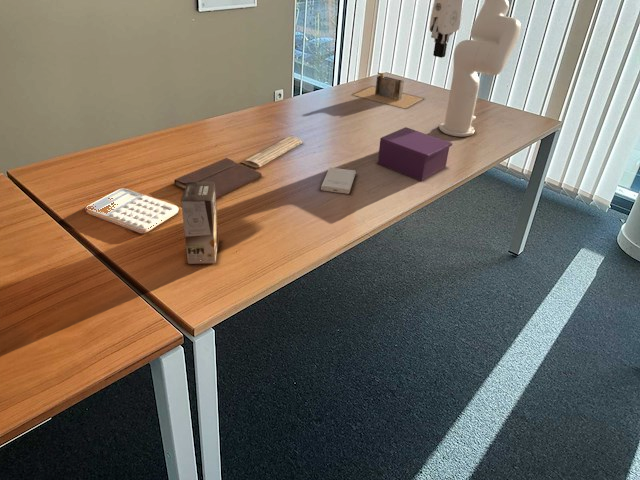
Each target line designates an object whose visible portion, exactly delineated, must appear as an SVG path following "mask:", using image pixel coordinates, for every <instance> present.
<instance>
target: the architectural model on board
mask: <svg viewBox="0 0 640 480" xmlns="http://www.w3.org/2000/svg"><path fill="white" fill-rule="evenodd" d="M404 83H405V80H403V79H398V78H394V77H389V76H385V75H384V73H383V72H378V71H377V76H376V82H375V86H373V85H372V86H369V87H368V88H365V89H363V90H361V91H358V92H356V93H354V94H353V96H355V97H360V98H362V99H367V100H371V101H375V102H379V103H383V104H386V105H391V106H394V107H398V108H401V109H407V108H409V107H411V106H413V105H415V104H417V103H418V102H420V101H422V100H423V97H418V96H413V95H410V94H406V93H403V92H404V91H403V90H404Z"/></svg>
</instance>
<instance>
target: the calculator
mask: <svg viewBox="0 0 640 480" xmlns="http://www.w3.org/2000/svg"><path fill="white" fill-rule="evenodd" d="M108 198H110V199H111V198H113V199H111V200H110V199H108ZM113 202H114V204H116V205H114V204H113V205H114V207H115V208H114V207H112V206H113V205H111V203H113ZM93 204H94V205H93ZM117 204H118V205H117ZM108 205H110V206H111V207H112V209H114V210H111V209H110V210H111V211H110V210H108V209H107V210H108V211H110V212H108V213H107V214H106V213H104V212H101V211H100V212H101V213H100V212H98V209H99V210H100V209H102V208H104V207H106V206H108ZM88 206H93V207H94V209H96V210H97V212H96V210H94V209H93V210H91V209H88V208H87V207H88ZM95 206H96V207H95ZM93 207H91V208H93ZM111 207H109V208H111ZM86 208H87V209H88V210H90V211H93V212H95V213H98V214H101V215H103V216H106V217H108V218H110V219H113V220H116V221H119V222H121V223H123V224H125V225H123V224H120V223H118V222H115V221H112V220H110V219H107V218H104V217H101V216H99V215H96V214H93V213H91V212H88V211H86V210H85V212H86V213H87V214H88V215H90V216H92V217H96V218H98V219H101V220H104V221H106V222H109V223H112V224H114V225H117V226H120V227H122V228H125V229H128V230H131V231H132V232H136V233H138V234H146V233H148V232H150V231H151V230H153V229H154V228H156V227H157V226H159V225H160V224H163V223H164V222H165V221H167V220H168V219H170V218H172V217H173V216H175V215H176V214H178V212H179V207H178V206H177V205H175V204H173V203H169V202H166V201H164V200H161V199H158V198H155V197H152V196H149V195H147V194H143V193H141V192H137V191H134V190H131V189H128V188H119V189H116V190H114V191H113V192H111V193H109V194H106V195H105V196H103V197H102V198H100V199H97V200H96V201H93V202H92V203H90V204H88V205H87V206H86V207H85V209H86ZM161 220H162V221H161ZM156 223H157V224H156ZM126 225H128V226H130V227H128V226H126ZM153 225H154V226H153ZM151 226H152V227H151ZM131 227H133V228H131ZM150 227H151V228H150ZM134 228H136V229H134ZM148 228H149V229H148ZM137 229H138V230H137ZM139 230H145V231H139Z"/></svg>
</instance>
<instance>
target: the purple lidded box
mask: <svg viewBox="0 0 640 480" xmlns="http://www.w3.org/2000/svg"><path fill="white" fill-rule="evenodd" d="M379 140H380V139H379ZM449 151H450V147H448V148H446V149H444V150H442V151H440V152H438V153H437V154H435V155H433V156H431V157H429V158H427V157H424V156H421V155H419V154H416V153H413V152H411V151H408V150H405V149H403V148H400V147H397V146H394V145H392V144H389V143H386V142H384V141H381V140H380V141H379V148H378V157H377V165H380V166H382V167H384V168H388V169H390V170H393V171H395V172H398V173H401V174H402V175H406V176H407V177H410V178H413V179H416V180H418V181H420V182H423V181H424V180H426V179H428V178H430V177H431V176H434V175H435V174H437V173H439V172H441V171H442V170H445V169H446V167H447V162H448V157H449Z"/></svg>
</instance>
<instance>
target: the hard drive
mask: <svg viewBox="0 0 640 480" xmlns="http://www.w3.org/2000/svg"><path fill="white" fill-rule="evenodd" d="M356 174H357V171H356V170H354V169H347V168H346V169H345V168H337V167H328V169H327V172H326V174H325V177H324V179H323V181H322V184H321V186H320V190H321V191H324V192H330V193H338V194H350V192H351V189H352V186H353V183H354V180H355V178H356Z"/></svg>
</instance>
